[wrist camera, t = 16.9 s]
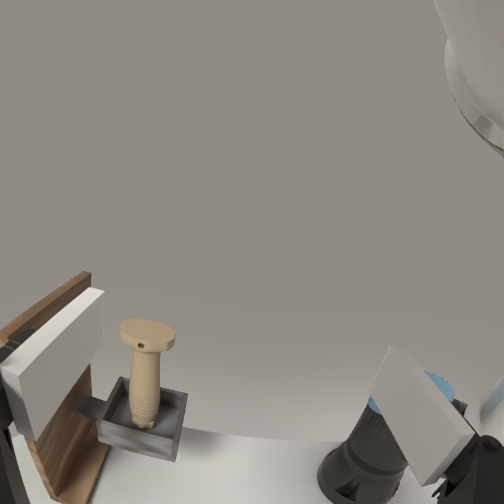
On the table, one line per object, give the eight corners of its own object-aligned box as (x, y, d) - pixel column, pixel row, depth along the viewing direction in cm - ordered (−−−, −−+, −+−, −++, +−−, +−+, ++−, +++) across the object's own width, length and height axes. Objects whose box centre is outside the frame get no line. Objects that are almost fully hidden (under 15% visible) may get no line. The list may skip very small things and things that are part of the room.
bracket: (179, 447, 44) (204, 299, 38) (164, 535, 26) (180, 394, 20) (89, 422, 42) (83, 270, 36) (51, 498, 25) (-3, 332, 18)
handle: (126, 405, 38) (127, 314, 35) (170, 416, 39) (179, 326, 35) (117, 427, 33) (113, 332, 30) (163, 439, 34) (170, 346, 31)
